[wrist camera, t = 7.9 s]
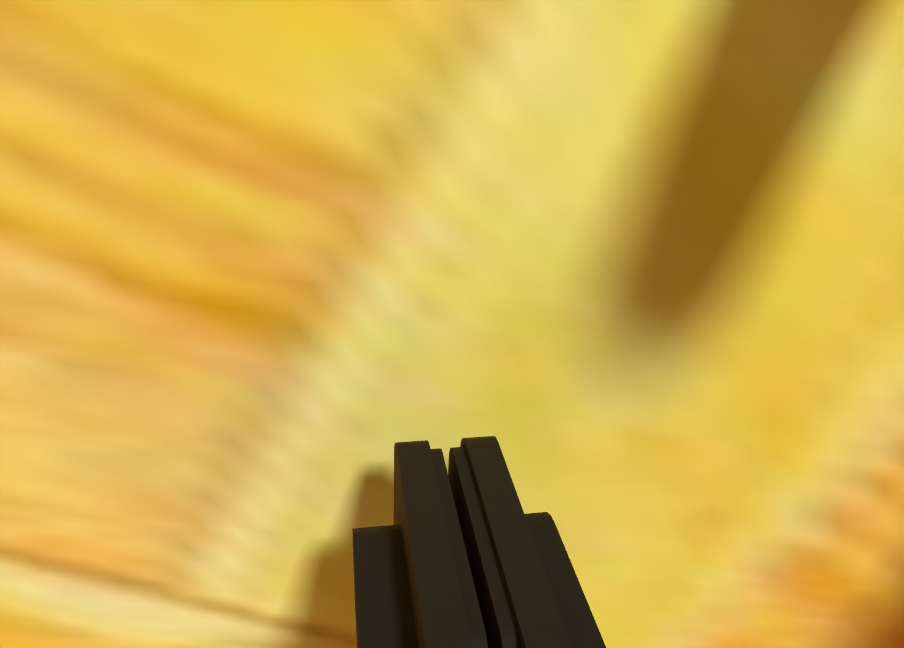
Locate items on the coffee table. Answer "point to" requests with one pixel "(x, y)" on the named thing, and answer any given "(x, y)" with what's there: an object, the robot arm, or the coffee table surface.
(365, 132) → the coffee table surface
